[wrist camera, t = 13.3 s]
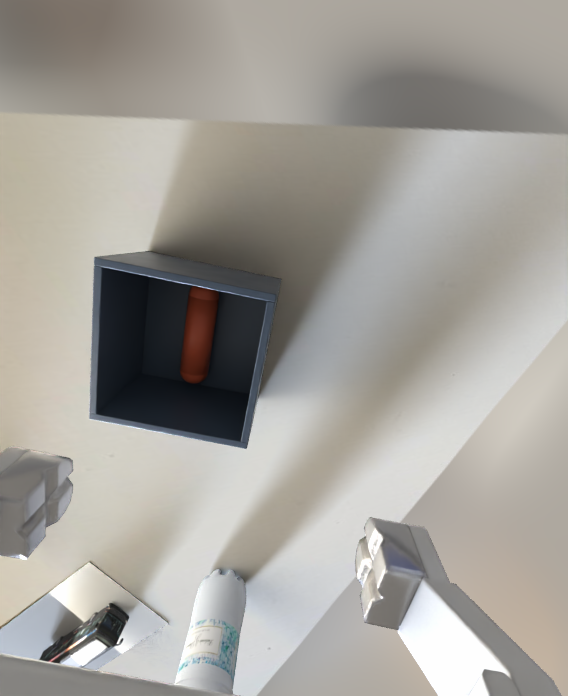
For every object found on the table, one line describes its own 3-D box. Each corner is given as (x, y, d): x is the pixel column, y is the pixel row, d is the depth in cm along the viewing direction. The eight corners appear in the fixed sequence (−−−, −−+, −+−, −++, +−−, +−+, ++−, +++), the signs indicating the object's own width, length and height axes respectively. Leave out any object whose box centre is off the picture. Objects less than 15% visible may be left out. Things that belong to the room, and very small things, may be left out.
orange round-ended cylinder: (198, 277, 34) (184, 279, 32) (225, 283, 34) (213, 286, 31) (186, 374, 37) (173, 383, 35) (210, 381, 37) (199, 391, 34)
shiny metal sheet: (168, 623, 49) (157, 657, 45) (58, 693, 55) (40, 730, 51) (89, 561, 46) (69, 592, 42) (-19, 643, 52) (-45, 677, 48)
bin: (147, 251, 34) (93, 256, 25) (281, 278, 34) (276, 294, 25) (137, 375, 38) (88, 419, 29) (257, 398, 38) (246, 449, 29)
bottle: (238, 557, 45) (198, 790, 26) (257, 593, 47) (232, 836, 28) (191, 569, 46) (119, 804, 27) (211, 604, 48) (158, 847, 29)
